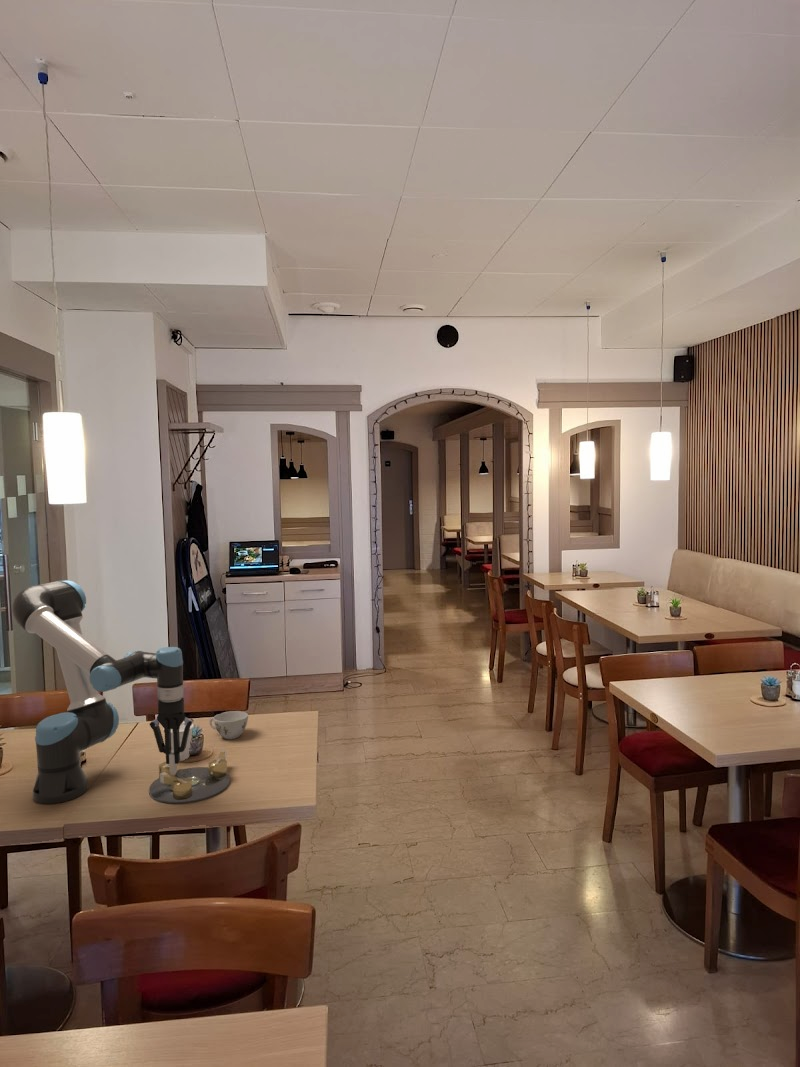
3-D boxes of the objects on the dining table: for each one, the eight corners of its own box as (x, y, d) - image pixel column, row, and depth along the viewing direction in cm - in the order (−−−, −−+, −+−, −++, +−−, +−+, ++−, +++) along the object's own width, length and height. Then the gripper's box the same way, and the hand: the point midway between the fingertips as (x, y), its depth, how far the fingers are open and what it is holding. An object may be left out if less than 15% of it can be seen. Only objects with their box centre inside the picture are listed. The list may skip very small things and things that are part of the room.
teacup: (254, 731, 266) (254, 711, 265) (239, 744, 254) (238, 722, 253) (218, 729, 270) (217, 708, 269) (201, 741, 258) (200, 719, 257)
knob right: (225, 778, 222) (224, 764, 222) (207, 778, 222) (206, 765, 221) (232, 761, 235) (232, 749, 234) (215, 762, 234) (215, 749, 234)
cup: (186, 764, 236) (184, 732, 236) (159, 763, 238) (157, 731, 238) (200, 753, 246) (198, 722, 245) (174, 751, 248) (172, 721, 247)
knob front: (196, 793, 211) (195, 779, 211) (180, 800, 207) (179, 786, 206) (170, 783, 219) (169, 769, 219) (154, 789, 215) (153, 775, 214)
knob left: (175, 780, 221) (174, 766, 221) (156, 781, 221) (156, 767, 221) (185, 763, 234) (184, 750, 234) (168, 764, 234) (167, 751, 233)
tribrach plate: (138, 805, 207) (138, 797, 207) (162, 771, 231) (161, 764, 231) (221, 801, 208) (220, 794, 208) (235, 768, 232) (235, 761, 232)
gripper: (145, 703, 211) (148, 779, 213) (189, 702, 211) (191, 778, 213) (152, 695, 218) (155, 768, 220) (195, 694, 219) (197, 767, 221)
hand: (173, 773), depth 217 cm, fingers closed
